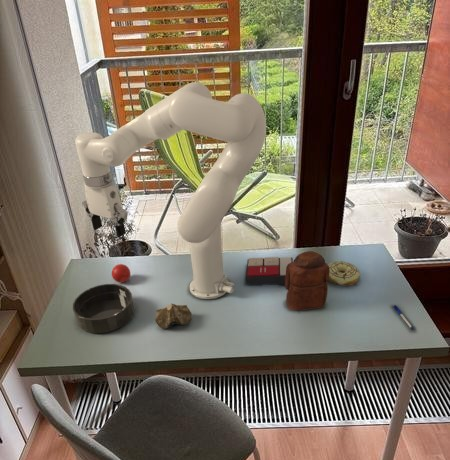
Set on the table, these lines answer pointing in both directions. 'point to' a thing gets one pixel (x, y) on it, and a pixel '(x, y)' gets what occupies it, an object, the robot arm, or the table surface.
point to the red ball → (120, 273)
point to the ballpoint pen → (402, 316)
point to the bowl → (104, 308)
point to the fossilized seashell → (173, 315)
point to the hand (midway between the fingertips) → (109, 231)
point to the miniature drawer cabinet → (267, 270)
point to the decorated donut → (343, 273)
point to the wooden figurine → (307, 281)
